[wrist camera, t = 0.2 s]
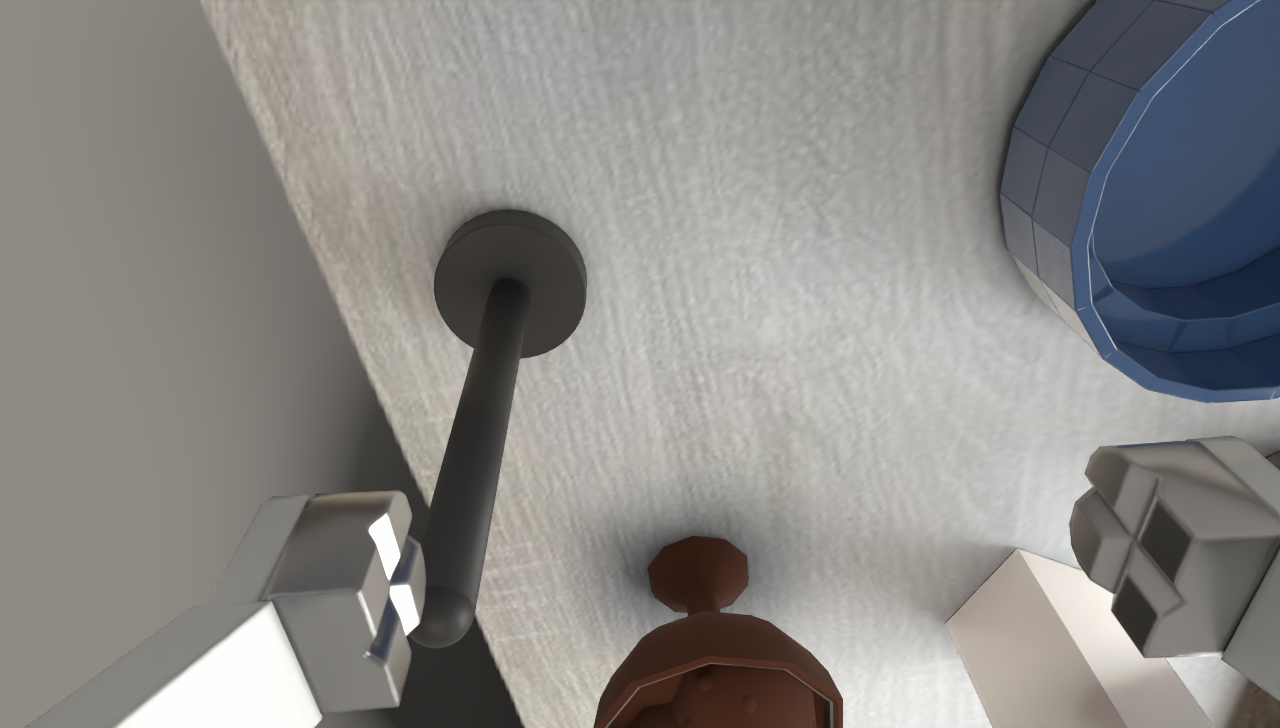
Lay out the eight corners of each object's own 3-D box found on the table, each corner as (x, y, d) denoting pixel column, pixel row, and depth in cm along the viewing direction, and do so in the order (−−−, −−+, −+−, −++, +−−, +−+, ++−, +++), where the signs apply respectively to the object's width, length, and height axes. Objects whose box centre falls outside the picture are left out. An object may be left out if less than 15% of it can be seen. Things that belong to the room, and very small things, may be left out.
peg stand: (427, 214, 31) (250, 549, 15) (579, 205, 31) (555, 529, 15) (454, 345, 34) (329, 730, 18) (592, 337, 34) (582, 714, 19)
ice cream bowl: (703, 461, 38) (754, 757, 25) (839, 574, 42) (941, 873, 29) (554, 573, 41) (531, 881, 29) (694, 665, 46) (728, 968, 33)
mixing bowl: (1048, -86, 26) (1156, -77, 21) (1529, -114, 26) (1754, -111, 21) (963, 336, 34) (1025, 415, 29) (1326, 313, 35) (1450, 388, 30)
